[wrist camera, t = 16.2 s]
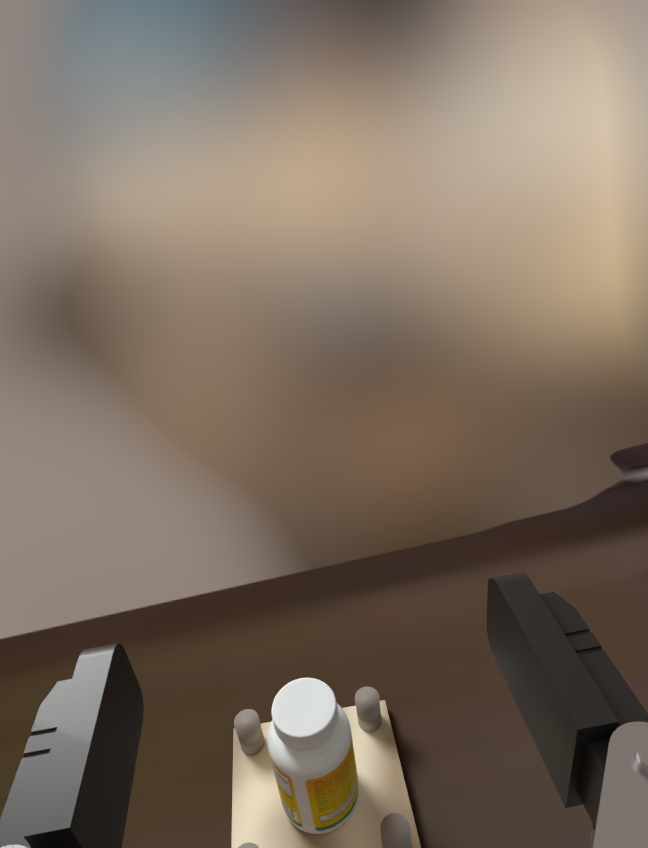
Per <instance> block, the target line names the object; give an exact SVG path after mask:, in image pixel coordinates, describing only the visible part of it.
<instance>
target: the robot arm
mask: <svg viewBox="0 0 648 848" xmlns="http://www.w3.org/2000/svg"><path fill="white" fill-rule="evenodd" d="M487 633H488V638H489V642H490V646H491V649H492V652H493V654H494V657H495V659H496V661H497V663H498V665H499V667H500V669H501V672H502V674H503V676H504V678H505V680H506V682H507V684H508V687H509V689H510V691H511V693H512V695H513V697H514V699H515V701H516V704H517V706H518V708H519V710H520V712H521V714H522V716H523V718H524V721H525V723H526V725H527V727H528V729H529V731H530V733H531V735H532V738H533V740H534V742H535V744H536V746H537V748H538V750H539V752H540V755H541V757H542V759H543V761H544V763H545V765H546V767H547V769H548V772H549V774H550V776H551V778H552V780H553V782H554V784H555V786H556V789H557V791H558V793H559V795H560V797H561V799H562V801H563V803H564V806H565V808H568V807H573V806H578V805H583V804H584V806H585V808H586V810H587V812H588V814H589V816H590V818H591V820H592V822H593V826H592V832H591V838H590V845H589V848H648V714H647V712H646V711H645V709H644V708H643V706H642V705H641V704H640V702H639V701H638V699H637V698H636V696H635V695H634V693H633V692H632V690H631V689H630V687H629V686H628V685H627V683H626V682H625V680H624V679H623V677H622V676H621V674H620V673H619V671H618V670H617V668H616V667H615V666H614V664H613V663H612V661H611V660H610V658H609V657H608V655H607V654H606V652H605V651H604V650H602V649H601V645H600V644H599V642H598V641H597V639H596V638H595V636H594V635H593V633H590V630H589V628H588V626H587V625H586V623H585V622H584V620H583V619H582V617H581V616H580V614H579V613H578V611H577V610H576V609H575V608H574V607H573V606H572V605H570V604H569V603H568V602H566V601H565V600H564V599H562V598H561V597H560V596H558V595H557V594H556V593H554V592H552V593H546V594H541V595H539V593H538V591H537V590H536V588H535V587H534V585H533V583H532V582H531V580H530V579H529V577H528V576H527V575H526V574H525V573H524V572H520V573H515V574H509V575H504V576H498V577H492V578H490V579H489V580H488V598H487ZM143 712H144V707H143V696H142V692H141V688H140V686H139V683H138V681H137V678H136V676H135V674H134V671H133V669H132V666H131V664H130V661H129V659H128V657H127V654H126V652H125V649H124V647H123V646H122V645H121V644H114V645H109V646H103V647H98V648H92V649H87V650H84V651H82V653H81V654H80V656H79V659H78V662H77V665H76V668H75V672H74V675H73V678H72V679H69V680H64V681H58V682H57V684H56V685H55V686H54V688H53V689H52V691H51V692H50V693H49V695H48V696H47V697H46V699H45V700H44V701H43V703H42V704H41V705H40V708H39V711H38V713H37V716H36V719H35V722H34V725H33V728H32V731H31V737H29V739H28V742H27V745H26V748H25V751H24V758H23V759H21V762H20V765H19V768H18V771H17V773H16V776H15V779H14V782H13V785H12V788H11V791H10V793H9V796H8V799H7V802H6V805H5V808H4V811H3V813H2V816H1V819H0V848H121V847H122V841H123V835H124V829H125V824H126V818H127V812H128V806H129V800H130V794H131V788H132V782H133V776H134V770H135V764H136V758H137V752H138V747H139V741H140V735H141V729H142V723H143Z"/></svg>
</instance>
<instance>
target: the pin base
mask: <svg viewBox="0 0 648 848" xmlns="http://www.w3.org/2000/svg"><path fill="white" fill-rule="evenodd" d="M355 703H356V706H351V707H346V708H342V709H343V711H344V712H345V714H346V715H347V718H348V720H349V723H350V727H351V733H352V741H353V748H354V755H355V762H356V769H357V777H358V785H359V795H358V801H357V804H356V807H355V809H354V811H353V813H352V815H351V816H350V817H349V819H348V820H347V821H346V822H345V823H344V824H343V825H341V826H340V827H338V828H336V829H335V830H333V831H330V832H327V833H325V834H311V833H307V832H304V831H302V830H300V829H299V828H297V827H296V826H295V825H294V824H292V822H291V821H290V820H289V818H288V817H287V815H286V813H285V811H284V808H283V806H282V802H281V798H280V794H279V790H278V786H277V782H276V778H275V774H274V771H273V767H272V763H271V759H270V755H269V750H268V743H267V737H268V730H269V727H270V724H271V722H267V723H262V724H260V721H259V717H258V714H257V713H256V712H255V711H254V710H252V709H246V710H243V711H241V712H240V713H238V714H237V716H236V717H235V720H234V726H235V729H234V734H233V794H232V848H421V846H420V841H419V837H418V833H417V829H416V825H415V821H414V817H413V813H412V809H411V805H410V801H409V797H408V792H407V788H406V784H405V780H404V776H403V772H402V768H401V764H400V760H399V756H398V752H397V748H396V743H395V739H394V735H393V731H392V727H391V723H390V719H389V715H388V711H387V707H386V703H385V700H383V701H380V700H379V694H378V692H377V691H376V690H375V689H374V688H372V687H363V688H361V689H359V690H358V691H357V692H356V694H355Z"/></svg>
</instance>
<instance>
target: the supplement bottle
mask: <svg viewBox="0 0 648 848" xmlns="http://www.w3.org/2000/svg"><path fill="white" fill-rule="evenodd" d="M267 743H268V750H269V755H270V759H271V763H272V767H273V771H274V774H275V778H276V782H277V786H278V790H279V794H280V798H281V802H282V806H283V808H284V811H285V813H286V815H287V817H288V818H289V820H290V821H291V822H292V824H294V825H295V826H296V827H297V828H299V829H300V830H302V831H304V832H307V833H311V834H325V833H327V832H330V831H333V830H335V829H336V828H338V827H340V826H341V825H343V824H344V823H345V822H346V821H347V820H348V819H349V817H350V816H351V815H352V813H353V811H354V809H355V807H356V804H357V801H358V795H359V785H358V777H357V769H356V762H355V755H354V748H353V741H352V733H351V727H350V723H349V720H348V718H347V715H346V714H345V712H344V711H343V709H342V708H341V707H340V706H339V705H338V704H337V703H336V699H335V696H334V693H333V691H332V690H331V688H330V687H329V686H328V685H327V684H325V683H324V682H322V681H320V680H318V679H314V678H300V679H297V680H294V681H292V682H290V683H288V684H286V685H285V686H284V687H283V688H282V689H281V690H280V691H279V692H278V694H277V695H276V697H275V699H274V701H273V705H272V722H271V724H270V727H269V730H268V737H267Z"/></svg>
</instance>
